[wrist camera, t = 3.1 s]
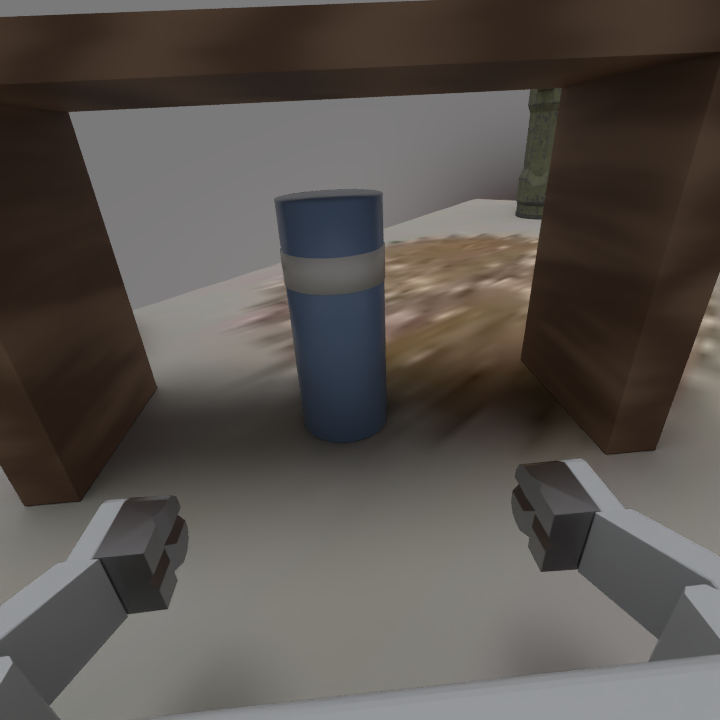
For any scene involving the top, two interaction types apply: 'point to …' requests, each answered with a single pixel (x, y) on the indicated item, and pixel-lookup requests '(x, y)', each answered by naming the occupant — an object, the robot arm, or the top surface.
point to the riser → (356, 80)
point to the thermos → (538, 152)
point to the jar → (337, 308)
